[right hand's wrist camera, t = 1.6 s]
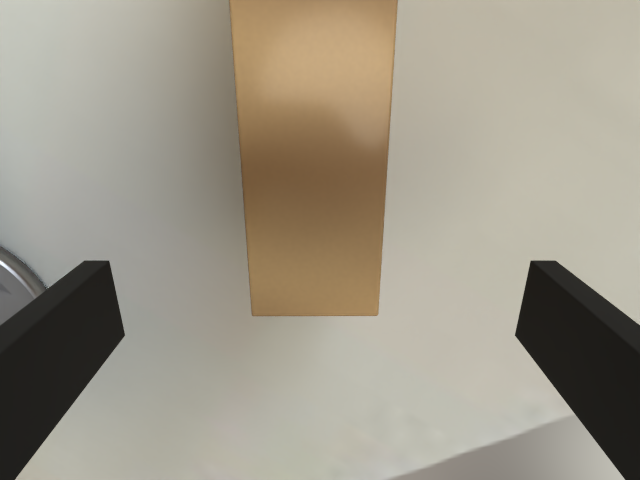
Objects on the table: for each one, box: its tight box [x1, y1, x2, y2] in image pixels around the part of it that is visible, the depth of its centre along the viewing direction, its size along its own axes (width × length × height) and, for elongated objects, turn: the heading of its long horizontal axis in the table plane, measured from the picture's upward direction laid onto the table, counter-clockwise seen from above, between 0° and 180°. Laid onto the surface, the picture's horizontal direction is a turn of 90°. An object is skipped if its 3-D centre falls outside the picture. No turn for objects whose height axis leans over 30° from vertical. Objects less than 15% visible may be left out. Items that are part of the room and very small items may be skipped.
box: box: [229, 0, 398, 316], centre depth 20 cm, size 26×6×12 cm, turn 0°
